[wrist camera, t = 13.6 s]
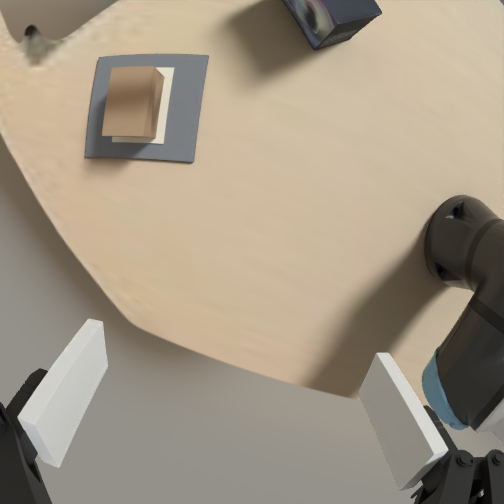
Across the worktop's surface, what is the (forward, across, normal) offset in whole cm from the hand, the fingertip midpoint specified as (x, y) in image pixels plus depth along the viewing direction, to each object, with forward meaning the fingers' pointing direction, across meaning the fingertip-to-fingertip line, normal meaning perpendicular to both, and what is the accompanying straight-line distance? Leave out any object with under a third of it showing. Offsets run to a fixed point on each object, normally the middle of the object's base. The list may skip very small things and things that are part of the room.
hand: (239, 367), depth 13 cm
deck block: (+26, +14, -14) cm, 33 cm away
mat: (+27, +15, -14) cm, 34 cm away
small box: (+28, -5, -31) cm, 42 cm away
